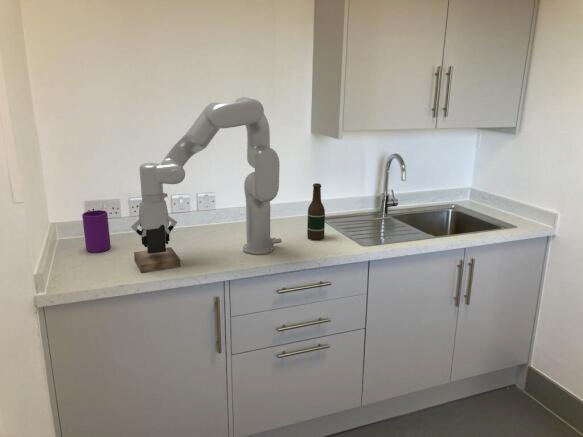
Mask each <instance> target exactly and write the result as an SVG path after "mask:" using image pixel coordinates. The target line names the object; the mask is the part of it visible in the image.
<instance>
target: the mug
mask: <svg viewBox="0 0 583 437" xmlns="http://www.w3.org/2000/svg"><path fill="white" fill-rule="evenodd" d="M81 216H82V226H83V233H84V243H85V250H86V251H87V252H89V253H103V252H106V251H108V250H110V248H111V238H110V237H111V236H110V227H109V215H108V212H107V211H106V210H102V209H100V210H99V209H96V210H88V211H85V212H84V213H82V215H81Z"/></svg>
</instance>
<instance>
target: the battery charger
mask: <svg viewBox="0 0 583 437" xmlns="http://www.w3.org/2000/svg"><path fill="white" fill-rule="evenodd" d="M145 236H146V238H147V247H146V251H147V252H148V253H160V252H166V248H167V244H166V233H165V227H164V225H161V226H160V227H159V228H156V229H150V230H146V234H145Z"/></svg>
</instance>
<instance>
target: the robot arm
mask: <svg viewBox="0 0 583 437" xmlns="http://www.w3.org/2000/svg"><path fill="white" fill-rule="evenodd" d="M264 112H265V110H264V106H263V104H262V103H261V101H260V100H258V99H255V98H250V97H245V96H243V97H239V98H236V99H235V100H234V101H233V102H226V103H221V102H217V101H216V102H215V101H214V102H210V103H209V104H207V105H206V107H204V109H203V110H202V111H201V112H200V115H199V116H198V117H197V118H196V120H195V121H194V123H193V124H192V125H191V127H190V128H189V129H188V130H187V132H185V134H184V135H183V136H182V137H181V138H180V139H179V140H178V141H177V142H176V143H175V144H174V145H173V146H172V147H171V149H170V150H169V152H168V153H167V154H166V156H165V157H164V158H163V160H162V161H161V163H157V162H147V163H146V162H145V163H142V164H141V165H140V166H139V180H140V192H141V201H139V205H138V220H137V221H136V222H134V223H133V224H132V225H131V229H132V230H133V231H134V232H136V234H138V235H139V236H140V238H141V245H142V246H143V247H145V248H147V238H146V230H150V229H156V228H159V227H160V226H161V225H164V227H165V233H166V245H169V242H170V241H171V240H170V239H171V238H170V233H171V232H172V231H173V229H174V228H175V226H176V225H177V224H178V221H177V220H175V219H174V218H173V217H171V216H170V215H169V211H168V206H167V201H166V200H165V199H166V198H168V197H169V196H168V193H165V192H164V185H178V184H181V183H182V182H183V181H184V179H185V177H186V171H185V169H184V166H185V165H186V164H187V162H188V161H189V160H190V159H191V158H192V157H193V156H194V155H196V154H198V153H200V152H202V151H203V150H205V149H206V148H207V147H208V146H209V144H210V143H211V142H212V140H213V139H214V138H215V136H216V135H217V133H218V132H219V131H220V129H230V128H236V127H237V128H238V127H240V126H241V127H242V126H245V128H246V137H247V139H246V140H247V142H246V143H247V144H246V147H247V149H246V153H247V154H246V160H247V163H248V165H249V167H251V168H253V169H254V171H253V172H252V171H251V172H250V173H249V174H247V176H246V177H245V179H244V184H243V188H244V197H245V209H246V210H245V211H246V212H245V215H246V216H245V222H246V223H245V224H246V226H245V227H246V231H245V232H246V243H245V244H243V246H242V251H243V252H244V253H246V254H251V255H266V254H270V253H272V252H273V251H274V250H275V246H274V245H275V244H282V241H283V240H282V238H276V237H271V201H273V200H274V199H276V197H277V195H278V193H279V188H280V168H281V167H280V166H281V165H280V158H279V155H278V153H277V151H276V150H274V149H273V148H271V137H270V135H271V133H270V132H271V131H270V125H269V121H268V118H267V116H266V114H265V113H264ZM138 226H140V229H141V230H140V229H139V228H138Z"/></svg>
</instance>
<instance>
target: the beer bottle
mask: <svg viewBox="0 0 583 437" xmlns="http://www.w3.org/2000/svg"><path fill="white" fill-rule="evenodd" d="M312 187H313V188H312V189H313V190H312V199H311V202H310V204H309V205H308V207H307V225H306V227H307V229H306V230H307V231H306V232H307V233H306V235H307V240H310V241H314V242H315V241H317V242H318V241H322V240H324V239H325V226H326V224H325V222H326V221H325V220H326V210H325V207H324V204H323V203H322V194H321V193H322V191H321V190H322V189H321V188H322V184H321V183H318V182H317V183H313V184H312Z"/></svg>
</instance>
